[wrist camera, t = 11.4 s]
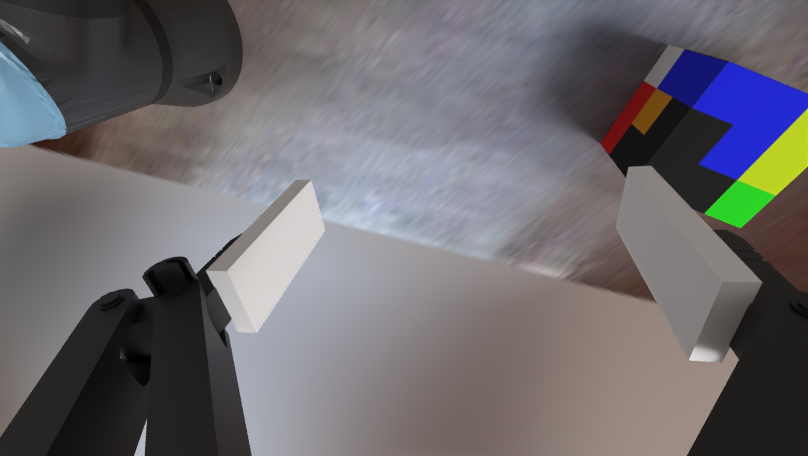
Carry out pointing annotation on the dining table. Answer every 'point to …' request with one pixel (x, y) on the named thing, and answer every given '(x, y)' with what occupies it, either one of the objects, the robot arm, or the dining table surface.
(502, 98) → the dining table surface
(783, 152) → the puzzle toy
